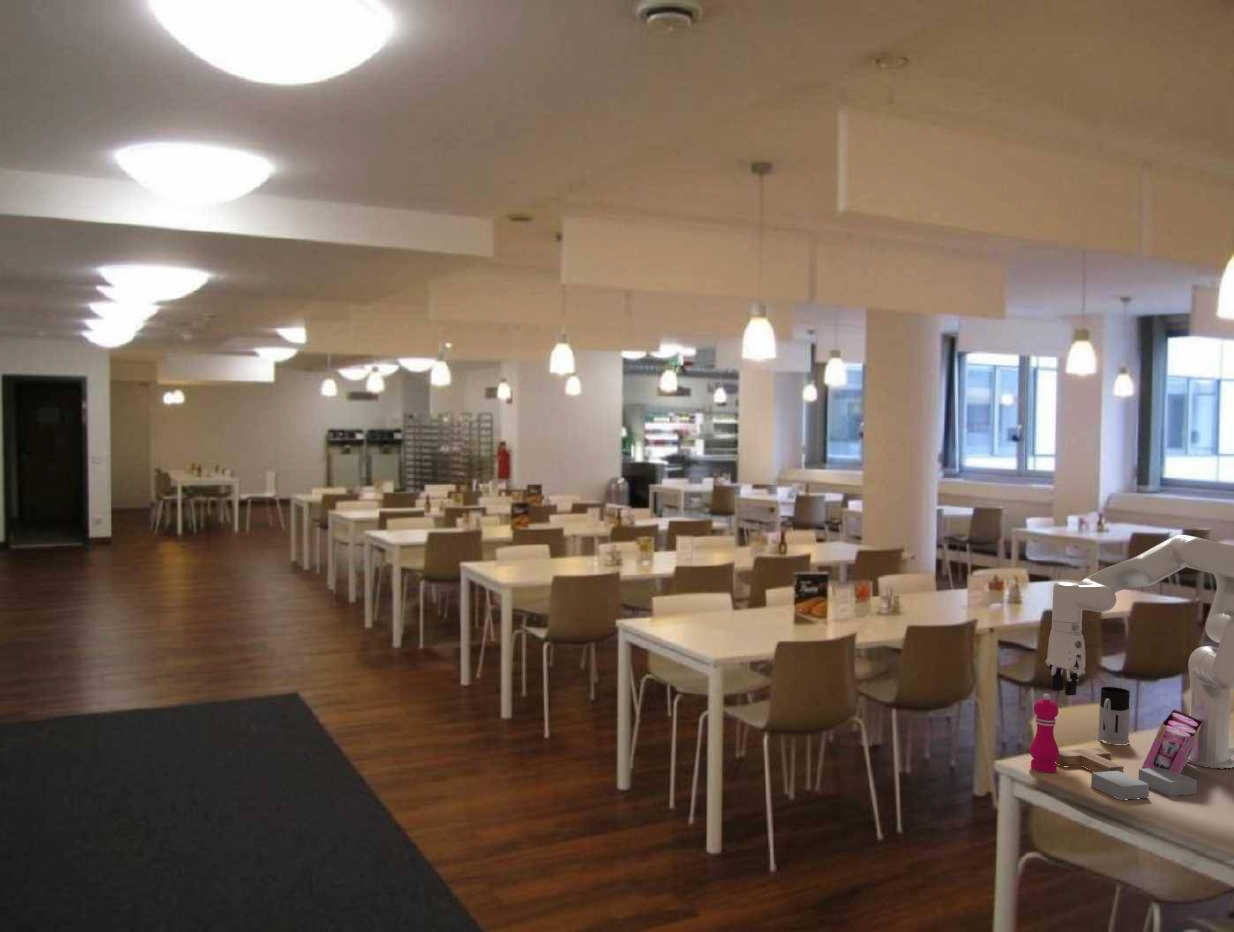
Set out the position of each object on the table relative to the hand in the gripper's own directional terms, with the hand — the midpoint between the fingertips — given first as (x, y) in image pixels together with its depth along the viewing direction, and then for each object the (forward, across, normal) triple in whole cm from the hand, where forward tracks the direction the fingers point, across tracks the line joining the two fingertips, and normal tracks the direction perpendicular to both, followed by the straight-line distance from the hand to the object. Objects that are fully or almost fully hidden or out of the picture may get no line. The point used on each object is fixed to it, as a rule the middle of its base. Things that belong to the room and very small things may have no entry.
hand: (1063, 692), depth 273 cm
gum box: (+17, -17, -18) cm, 30 cm away
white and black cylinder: (+18, +6, -22) cm, 29 cm away
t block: (+17, -13, 0) cm, 22 cm away
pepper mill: (+18, -10, +14) cm, 25 cm away
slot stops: (+17, -29, 0) cm, 34 cm away
